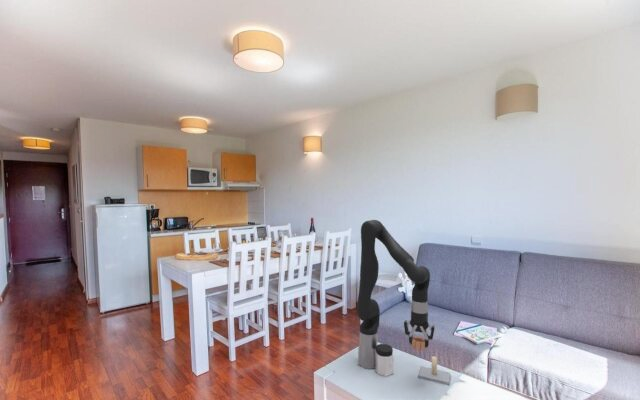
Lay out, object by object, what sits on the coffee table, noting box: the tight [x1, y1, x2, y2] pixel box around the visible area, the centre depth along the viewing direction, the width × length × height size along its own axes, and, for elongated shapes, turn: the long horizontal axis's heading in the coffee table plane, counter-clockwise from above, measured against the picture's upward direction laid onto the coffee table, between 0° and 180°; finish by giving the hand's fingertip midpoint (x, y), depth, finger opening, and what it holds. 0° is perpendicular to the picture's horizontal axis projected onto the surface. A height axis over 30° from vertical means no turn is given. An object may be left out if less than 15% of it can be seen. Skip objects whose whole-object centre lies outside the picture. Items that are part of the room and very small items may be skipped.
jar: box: [375, 343, 394, 377], centre depth 156 cm, size 9×8×12 cm
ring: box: [411, 336, 426, 352], centre depth 146 cm, size 6×6×4 cm
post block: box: [417, 355, 451, 386], centre depth 152 cm, size 14×9×9 cm, turn 65°
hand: (418, 345), depth 146 cm, fingers closed on ring, 6 cm apart
